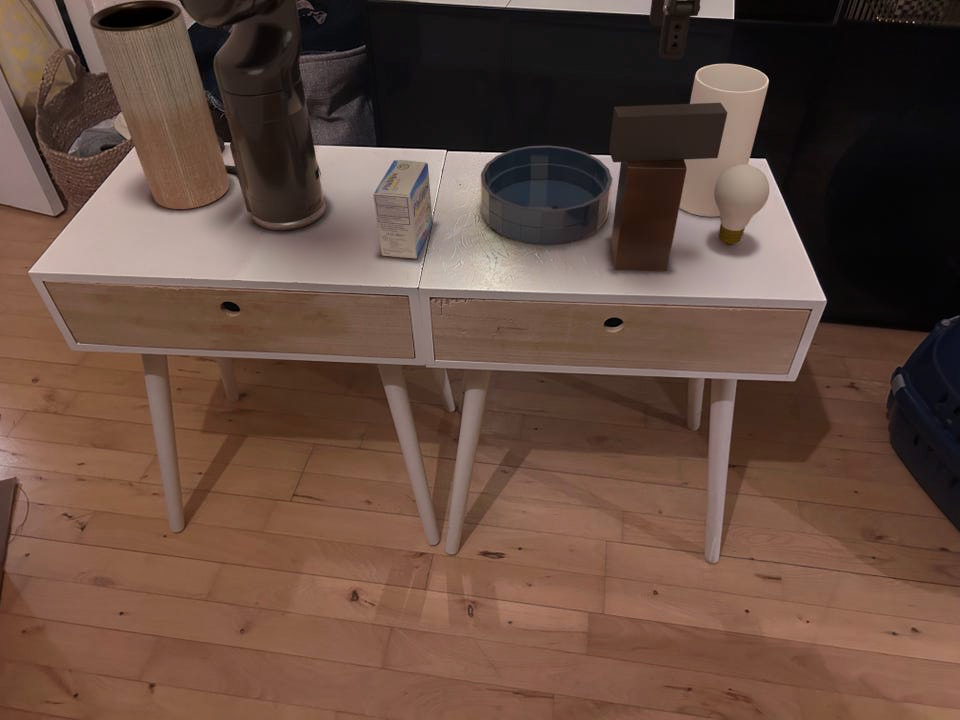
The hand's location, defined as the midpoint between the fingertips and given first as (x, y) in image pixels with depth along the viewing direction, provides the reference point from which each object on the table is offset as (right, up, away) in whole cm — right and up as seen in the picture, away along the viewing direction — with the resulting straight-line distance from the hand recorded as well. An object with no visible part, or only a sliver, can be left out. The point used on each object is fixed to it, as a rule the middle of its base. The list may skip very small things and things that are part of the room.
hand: (665, 40), depth 71 cm
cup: (+11, -10, +25) cm, 29 cm away
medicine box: (-27, -16, +20) cm, 37 cm away
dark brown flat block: (+2, -9, +7) cm, 12 cm away
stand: (+1, -18, +16) cm, 25 cm away
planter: (-57, -8, +29) cm, 64 cm away
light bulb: (+12, -17, +18) cm, 27 cm away
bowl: (-10, -12, +24) cm, 28 cm away
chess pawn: (-9, -14, +20) cm, 26 cm away
